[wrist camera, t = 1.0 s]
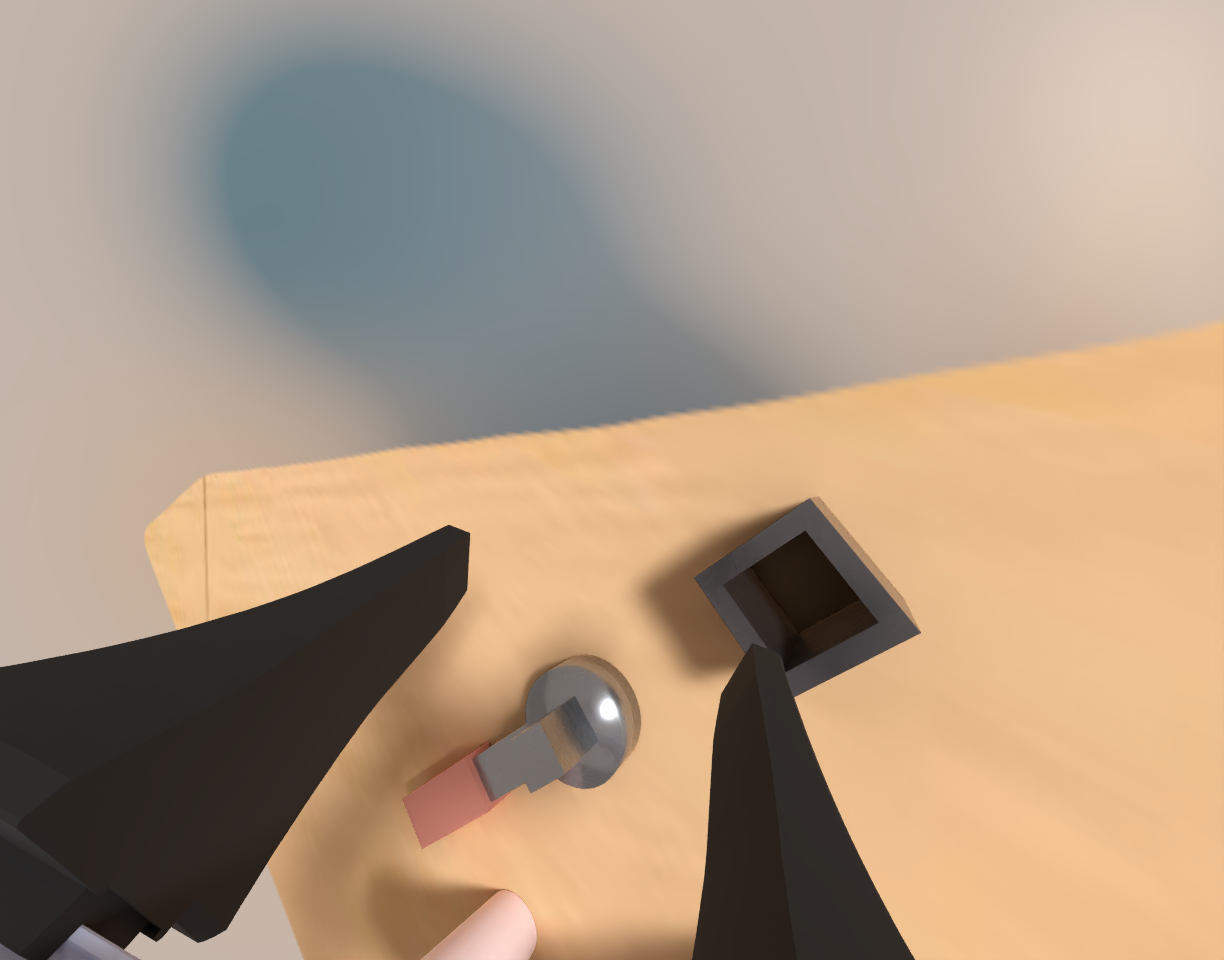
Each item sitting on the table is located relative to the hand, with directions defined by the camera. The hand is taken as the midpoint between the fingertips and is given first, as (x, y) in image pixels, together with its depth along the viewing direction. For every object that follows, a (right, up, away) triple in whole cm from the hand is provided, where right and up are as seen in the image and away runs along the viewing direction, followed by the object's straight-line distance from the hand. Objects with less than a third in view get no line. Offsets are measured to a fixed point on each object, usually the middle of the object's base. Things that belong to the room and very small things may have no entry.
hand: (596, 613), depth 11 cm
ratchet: (-5, -13, +17) cm, 22 cm away
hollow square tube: (+9, -1, +9) cm, 13 cm away
